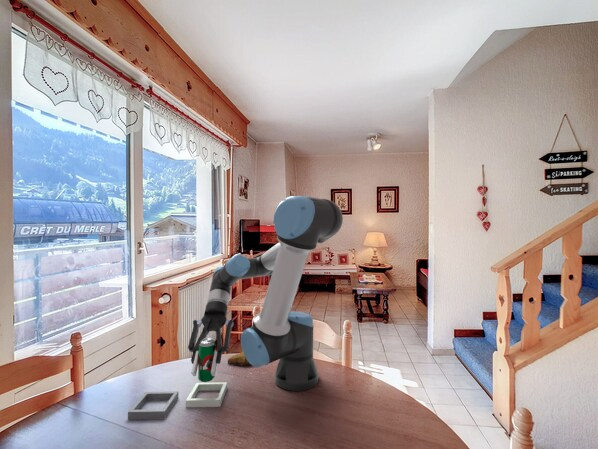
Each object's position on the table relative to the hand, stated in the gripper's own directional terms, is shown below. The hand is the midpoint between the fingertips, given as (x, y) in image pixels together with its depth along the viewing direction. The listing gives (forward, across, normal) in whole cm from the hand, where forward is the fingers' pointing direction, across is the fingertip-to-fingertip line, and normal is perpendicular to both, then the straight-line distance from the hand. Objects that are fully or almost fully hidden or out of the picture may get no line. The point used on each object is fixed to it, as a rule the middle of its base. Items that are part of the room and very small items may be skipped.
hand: (203, 374), depth 88 cm
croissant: (-12, -9, -26) cm, 30 cm away
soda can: (0, 0, -5) cm, 5 cm away
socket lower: (+4, -1, -8) cm, 9 cm away
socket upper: (+8, +13, -5) cm, 16 cm away
